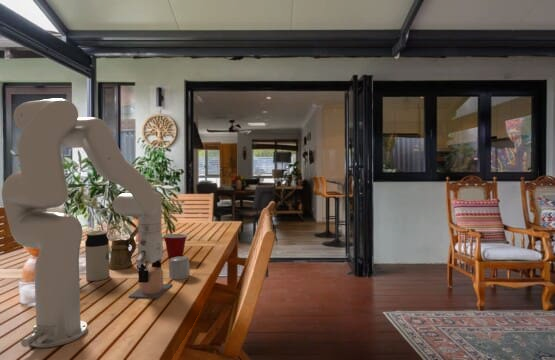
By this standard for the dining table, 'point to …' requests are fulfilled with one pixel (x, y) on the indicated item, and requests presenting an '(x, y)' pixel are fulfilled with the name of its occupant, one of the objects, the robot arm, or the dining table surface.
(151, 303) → the dining table surface
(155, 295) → the mat
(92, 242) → the travel mug
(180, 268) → the grey cup
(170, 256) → the plastic cup
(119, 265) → the wooden mug
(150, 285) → the terracotta cup
